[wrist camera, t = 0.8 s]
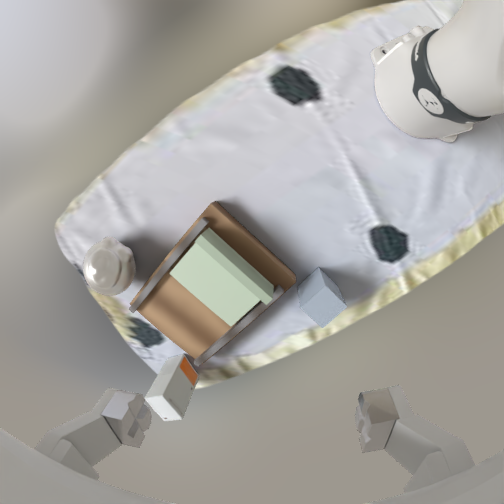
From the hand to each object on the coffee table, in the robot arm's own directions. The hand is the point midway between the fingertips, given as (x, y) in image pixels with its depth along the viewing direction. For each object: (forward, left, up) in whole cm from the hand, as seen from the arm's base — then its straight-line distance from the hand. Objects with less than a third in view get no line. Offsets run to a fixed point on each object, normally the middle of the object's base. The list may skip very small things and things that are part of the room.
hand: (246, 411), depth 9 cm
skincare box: (+31, +7, -33) cm, 46 cm away
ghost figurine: (+21, -14, -33) cm, 42 cm away
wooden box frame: (+14, 0, -33) cm, 36 cm away
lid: (+10, 0, -30) cm, 31 cm away
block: (+2, +12, -33) cm, 35 cm away
